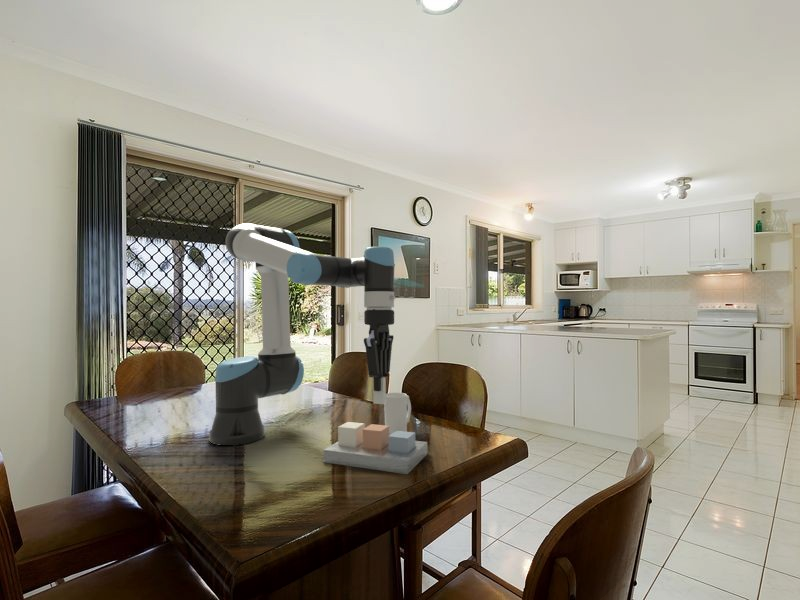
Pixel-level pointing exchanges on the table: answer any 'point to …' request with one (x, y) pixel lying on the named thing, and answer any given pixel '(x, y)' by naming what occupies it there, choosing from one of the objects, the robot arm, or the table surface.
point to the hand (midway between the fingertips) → (379, 403)
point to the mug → (397, 412)
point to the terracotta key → (376, 437)
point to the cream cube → (350, 434)
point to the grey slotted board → (375, 457)
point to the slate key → (402, 442)
